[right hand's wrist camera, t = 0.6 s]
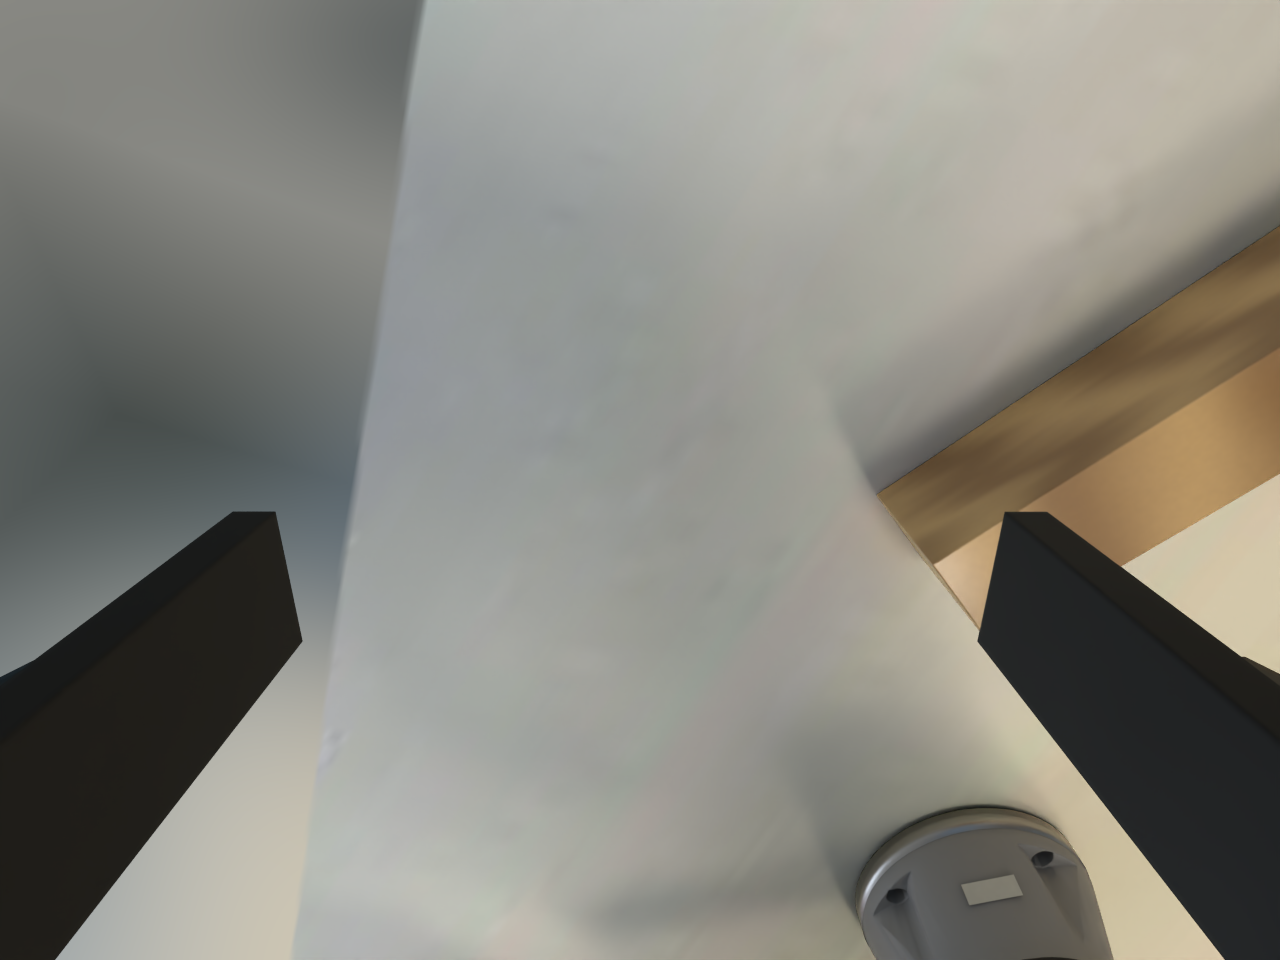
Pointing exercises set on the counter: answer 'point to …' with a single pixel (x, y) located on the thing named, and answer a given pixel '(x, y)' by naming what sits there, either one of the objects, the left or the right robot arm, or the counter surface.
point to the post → (1117, 435)
